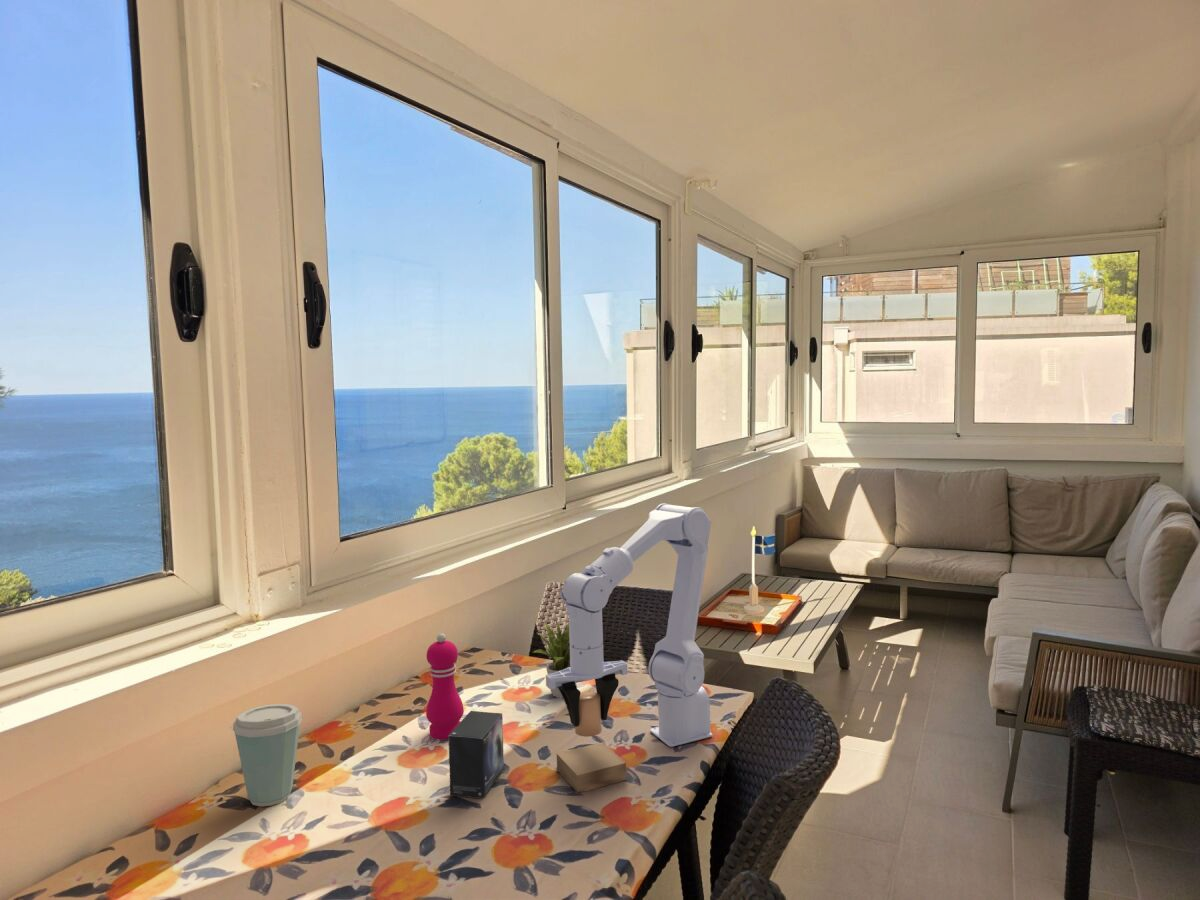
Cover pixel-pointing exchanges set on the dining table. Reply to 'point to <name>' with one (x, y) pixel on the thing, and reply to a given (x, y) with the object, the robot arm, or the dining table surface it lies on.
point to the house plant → (557, 652)
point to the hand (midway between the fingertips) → (588, 721)
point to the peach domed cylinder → (589, 715)
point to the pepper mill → (443, 689)
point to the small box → (476, 754)
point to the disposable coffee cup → (268, 751)
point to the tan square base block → (591, 767)
